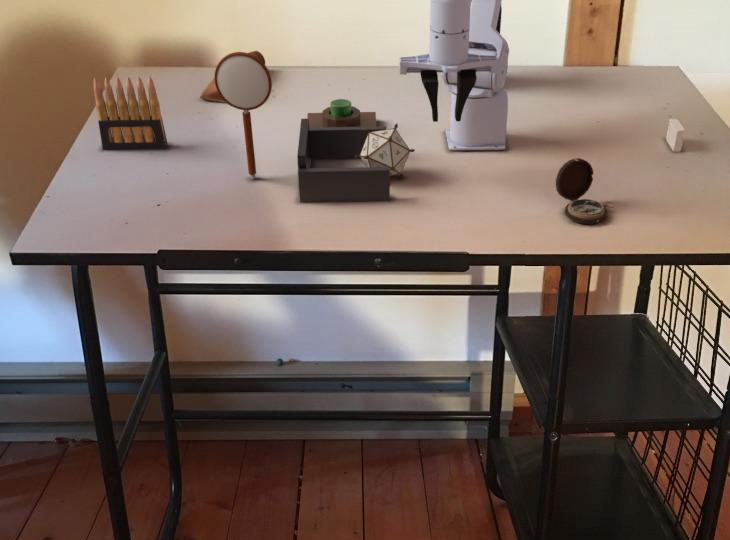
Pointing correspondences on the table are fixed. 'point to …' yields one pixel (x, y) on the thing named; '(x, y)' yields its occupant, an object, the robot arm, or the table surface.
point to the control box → (342, 119)
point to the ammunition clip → (129, 117)
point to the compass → (579, 192)
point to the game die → (385, 150)
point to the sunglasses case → (210, 90)
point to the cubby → (338, 180)
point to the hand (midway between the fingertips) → (446, 119)
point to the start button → (341, 108)
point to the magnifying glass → (244, 91)
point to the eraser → (675, 135)
